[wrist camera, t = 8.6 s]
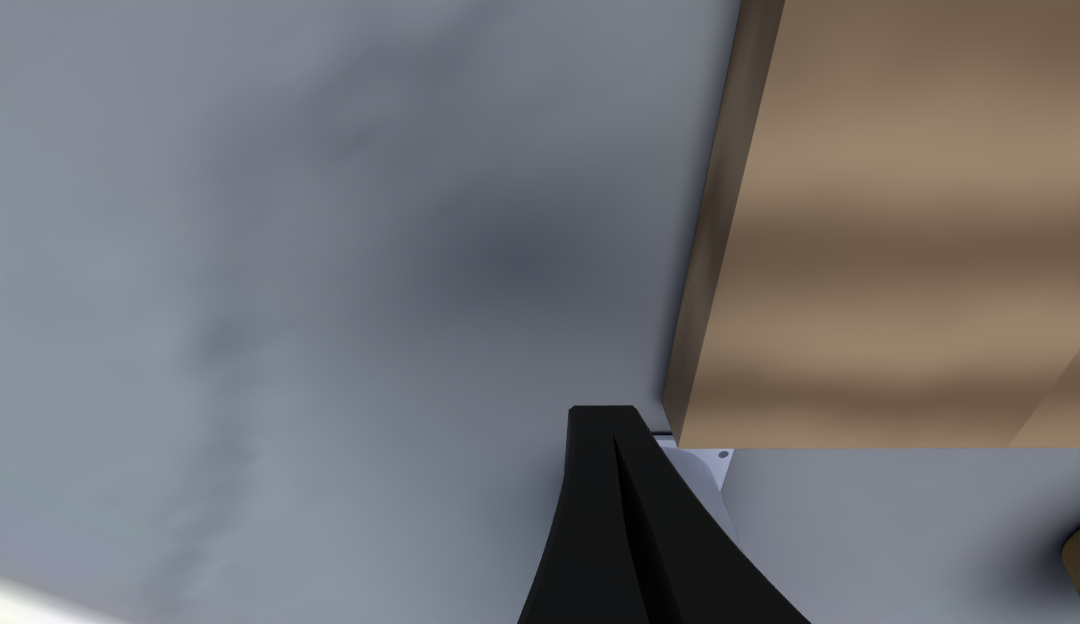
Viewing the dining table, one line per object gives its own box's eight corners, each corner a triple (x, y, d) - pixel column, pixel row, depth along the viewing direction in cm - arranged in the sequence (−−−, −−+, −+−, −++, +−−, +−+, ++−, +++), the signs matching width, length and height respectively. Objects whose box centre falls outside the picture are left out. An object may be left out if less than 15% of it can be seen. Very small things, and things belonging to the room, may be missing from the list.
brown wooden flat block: (1097, 402, 25) (1163, 447, 22) (661, 401, 24) (677, 448, 21) (1455, -39, 15) (1641, -49, 13) (754, -63, 14) (804, -78, 12)
